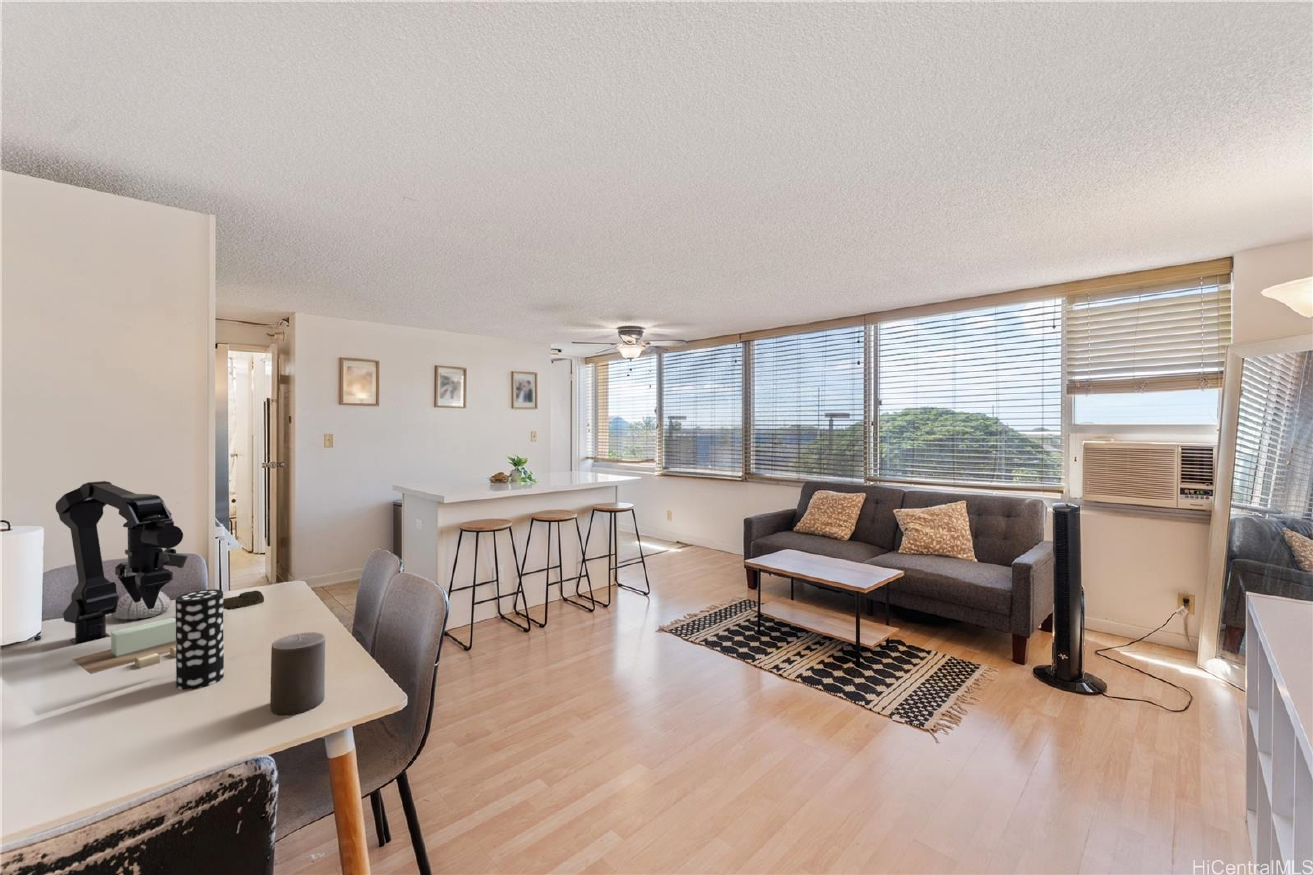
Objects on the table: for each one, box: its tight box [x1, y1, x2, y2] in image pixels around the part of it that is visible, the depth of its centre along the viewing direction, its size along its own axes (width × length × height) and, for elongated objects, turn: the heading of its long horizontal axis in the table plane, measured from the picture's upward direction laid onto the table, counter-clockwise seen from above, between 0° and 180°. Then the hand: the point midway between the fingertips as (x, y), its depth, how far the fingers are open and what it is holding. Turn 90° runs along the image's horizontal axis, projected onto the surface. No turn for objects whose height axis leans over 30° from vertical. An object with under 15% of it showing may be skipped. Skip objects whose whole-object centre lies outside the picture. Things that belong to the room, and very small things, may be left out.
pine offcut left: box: [134, 652, 161, 669], centre depth 129 cm, size 4×4×4 cm
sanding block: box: [110, 617, 176, 658], centre depth 137 cm, size 4×12×6 cm, turn 149°
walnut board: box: [72, 642, 176, 675], centre depth 137 cm, size 14×24×2 cm, turn 149°
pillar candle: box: [269, 631, 326, 716], centre depth 115 cm, size 10×10×15 cm
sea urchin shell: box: [110, 590, 172, 621], centre depth 164 cm, size 13×14×8 cm
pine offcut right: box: [169, 646, 176, 659], centre depth 134 cm, size 4×4×4 cm
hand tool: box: [223, 590, 265, 610], centre depth 169 cm, size 19×4×5 cm, turn 132°
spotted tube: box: [175, 588, 225, 691], centre depth 123 cm, size 8×8×20 cm
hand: (143, 605), depth 138 cm, fingers open, 9 cm apart
